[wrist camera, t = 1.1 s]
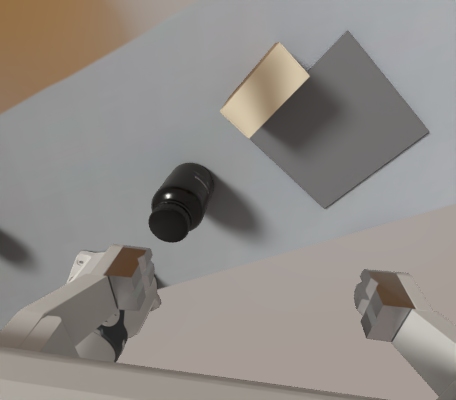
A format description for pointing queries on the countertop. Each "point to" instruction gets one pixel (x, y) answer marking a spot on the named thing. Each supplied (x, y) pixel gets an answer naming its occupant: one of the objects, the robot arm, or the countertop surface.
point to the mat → (339, 124)
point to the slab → (264, 90)
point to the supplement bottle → (181, 202)
